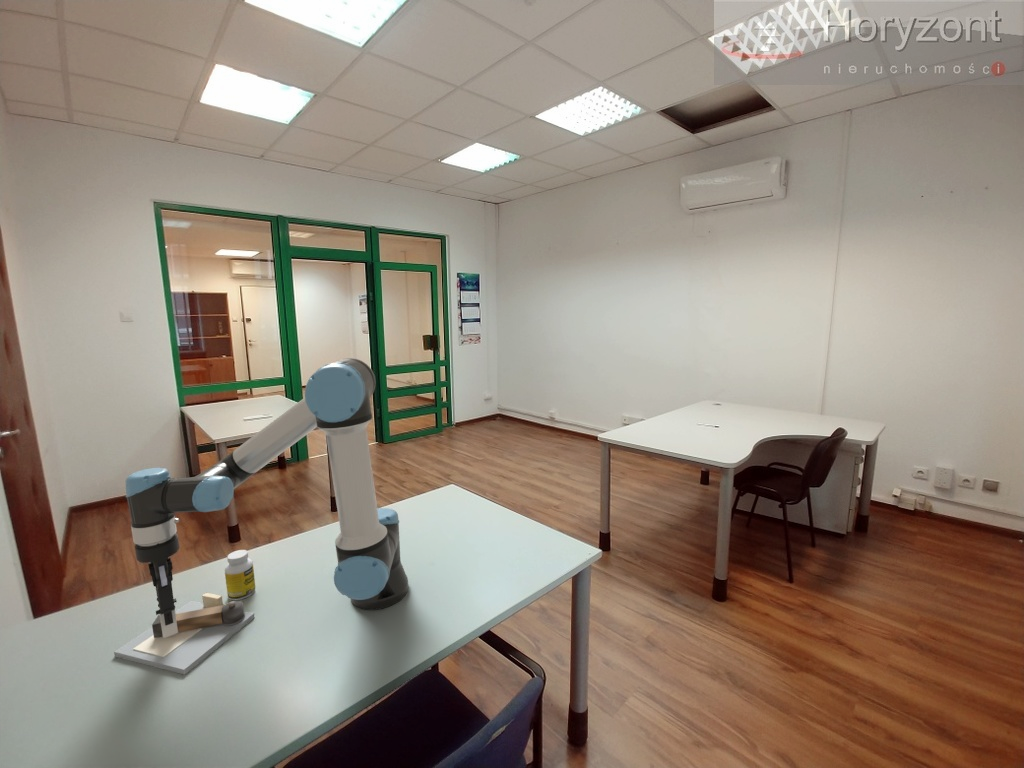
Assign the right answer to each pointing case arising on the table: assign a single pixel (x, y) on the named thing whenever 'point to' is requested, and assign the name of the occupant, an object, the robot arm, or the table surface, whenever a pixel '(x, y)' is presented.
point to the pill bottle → (239, 575)
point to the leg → (204, 617)
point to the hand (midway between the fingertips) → (170, 633)
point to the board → (182, 641)
